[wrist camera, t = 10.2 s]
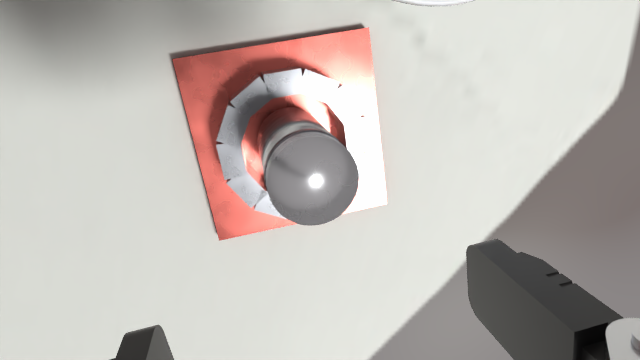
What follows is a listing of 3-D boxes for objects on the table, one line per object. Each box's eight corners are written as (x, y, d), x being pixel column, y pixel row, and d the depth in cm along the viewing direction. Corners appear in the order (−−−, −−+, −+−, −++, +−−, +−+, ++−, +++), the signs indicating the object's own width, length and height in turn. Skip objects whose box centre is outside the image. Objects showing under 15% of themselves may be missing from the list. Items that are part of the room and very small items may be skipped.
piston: (250, 113, 30) (257, 146, 21) (317, 100, 31) (353, 127, 22) (263, 178, 32) (276, 235, 23) (327, 165, 33) (365, 215, 23)
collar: (174, 58, 29) (164, 60, 25) (365, 28, 31) (382, 25, 27) (219, 235, 34) (217, 258, 30) (383, 199, 36) (400, 218, 32)
